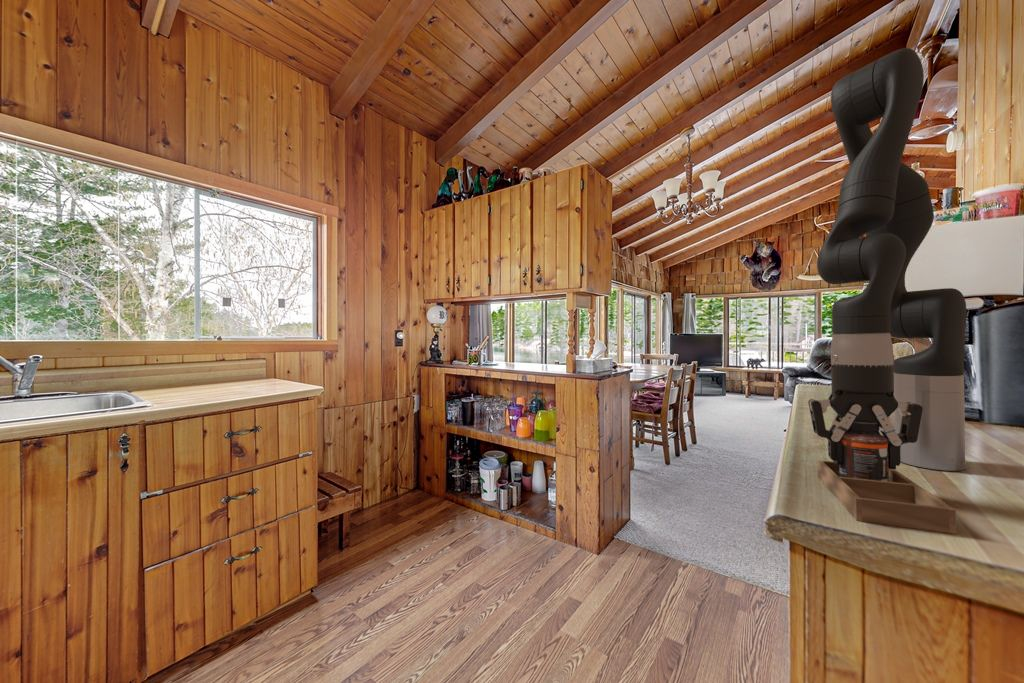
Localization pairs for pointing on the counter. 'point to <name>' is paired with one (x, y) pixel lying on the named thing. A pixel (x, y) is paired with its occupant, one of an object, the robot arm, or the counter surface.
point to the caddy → (888, 500)
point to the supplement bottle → (864, 452)
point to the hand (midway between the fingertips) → (862, 465)
